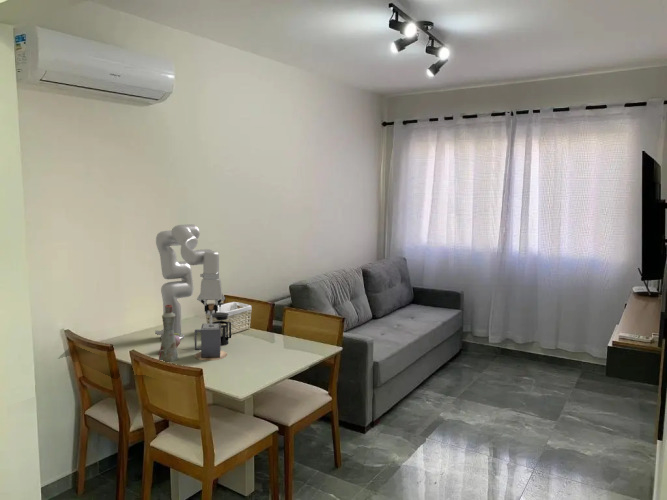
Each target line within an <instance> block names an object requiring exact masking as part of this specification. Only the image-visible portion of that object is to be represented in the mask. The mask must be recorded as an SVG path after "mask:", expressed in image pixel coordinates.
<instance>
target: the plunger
mask: <svg viewBox="0 0 667 500" xmlns="http://www.w3.org/2000/svg"><path fill="white" fill-rule="evenodd" d="M207 305H208V311H210V327H212V311H214V310H215V302H214V303H212V302H209V303H207Z"/></svg>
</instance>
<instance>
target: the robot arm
mask: <svg viewBox="0 0 667 500" xmlns="http://www.w3.org/2000/svg"><path fill="white" fill-rule="evenodd" d="M200 234H201V232H200V229H199V227H198V226H197V225H195V224H177V225H175V226H173V228H171V230H163V231H160V232H158V233H157V235H156V236H155V245H156V248H157V252H158V254H159V257H160V259H159V260H160V267H161V275H162V277H163V279H165V280H177V281H167V282H165V283H163V285H161V288H160V294H161V297H162V309H163V310H162V313H163V314H164V313H165V306H166V305H168V304H169V305H172V312H173V313H174V314H175V321H174V328H173V330H174V333H178V334H179V335H178V336H179V337H180V340H182V339H184V338H185V334H184V333H183V332H182V305H181V303H180V302H179V300H178V299H183V298H188V297H189V298H190V297H191V296H192V295H193V294H194V282H193V281H194V280H193V272H192V267H191V266H199V265H201V266H202V265H203V270H202V271H203V273H200V275H199V276H200V277H201V278H202V279H201V282H200V293H199V295H198V296H197V298H196V300H197V301H198V302H200V303H201V304H202V305H204V312H205V311H206V314H207V313H208V305H207V304H208V301H215V302H214V304H215V313H216V311H218V304H219V303H223V302H224V301H226V297H225V295H224V294H223V290H222V289H223V288H222V280H221V278H220V253H219V252H218V251H217V250H216V251H214V250H212V249H208V248H205V249H195V248H196V247H197V246H198V239H199V237H200ZM174 246H177V247H178V246H180V255H181V258H182V260H183V261H178V260H177V253H176V251H175V250H174V249H173V248H172V247H174ZM179 279H181V280H179ZM163 314H162V315H163ZM206 314H205V315H206ZM163 332H164V326H163V329H161V330H155V335H157V336H160V339H161V340H162V337H163Z"/></svg>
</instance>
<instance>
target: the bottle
mask: <svg viewBox="0 0 667 500" xmlns="http://www.w3.org/2000/svg"><path fill="white" fill-rule="evenodd" d="M161 318H162V324H163V326H164V332H163V337H162V339H161V343H160V349H159V354H158V355H159V356H158V359H159V361H160V360H163V361H166V363H169V362H170V363H171V362H175V361H177V360H178V359H179V356H178V347H177V348H176V341H175V336H174V330H173V328H174V321H175V314H174V313H173V312H172V305H169V304H168V305H166V306H165V313H164V314H162V315H161Z"/></svg>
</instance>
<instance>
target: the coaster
mask: <svg viewBox="0 0 667 500" xmlns="http://www.w3.org/2000/svg"><path fill="white" fill-rule="evenodd" d="M227 356H228V352H227V351H225V350H221V353H220V358H201V351H198V352H197V353H195V354H194V358H195V359H197V360H200V361H206V362H207V361H218V360H222V359H224V358H226V357H227Z"/></svg>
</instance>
